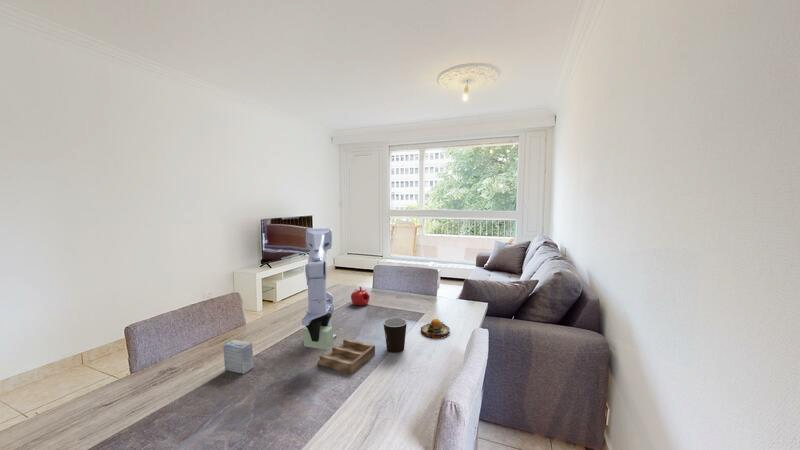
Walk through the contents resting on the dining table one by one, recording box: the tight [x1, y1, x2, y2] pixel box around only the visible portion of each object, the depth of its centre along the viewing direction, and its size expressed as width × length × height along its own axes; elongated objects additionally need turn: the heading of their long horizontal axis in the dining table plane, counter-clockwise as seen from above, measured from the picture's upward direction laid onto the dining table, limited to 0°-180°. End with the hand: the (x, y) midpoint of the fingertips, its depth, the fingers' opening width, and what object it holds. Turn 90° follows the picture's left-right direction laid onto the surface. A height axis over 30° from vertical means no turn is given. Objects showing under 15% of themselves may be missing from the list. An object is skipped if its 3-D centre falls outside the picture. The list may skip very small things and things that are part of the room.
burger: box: [420, 318, 451, 339], centre depth 125 cm, size 12×12×8 cm
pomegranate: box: [350, 286, 370, 307], centre depth 161 cm, size 10×10×9 cm
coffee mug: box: [383, 317, 408, 354], centre depth 113 cm, size 12×9×10 cm
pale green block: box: [302, 326, 334, 351], centre depth 100 cm, size 9×4×6 cm, turn 72°
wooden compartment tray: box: [317, 338, 376, 375], centre depth 105 cm, size 14×14×3 cm
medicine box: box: [223, 339, 255, 375], centre depth 99 cm, size 8×4×9 cm, turn 71°
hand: (318, 338), depth 100 cm, fingers closed on pale green block, 3 cm apart
